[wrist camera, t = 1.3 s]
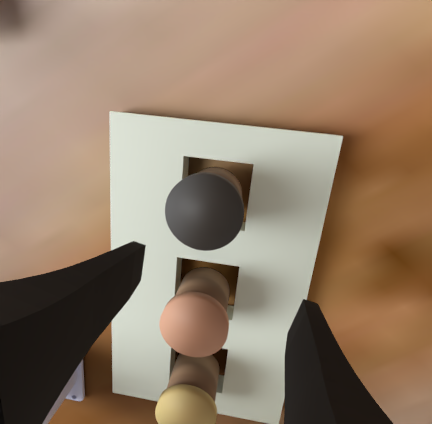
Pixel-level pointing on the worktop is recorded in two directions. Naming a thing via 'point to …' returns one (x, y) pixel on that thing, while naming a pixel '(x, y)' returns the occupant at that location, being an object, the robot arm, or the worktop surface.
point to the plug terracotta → (197, 314)
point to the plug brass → (190, 392)
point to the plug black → (206, 209)
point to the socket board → (229, 255)
